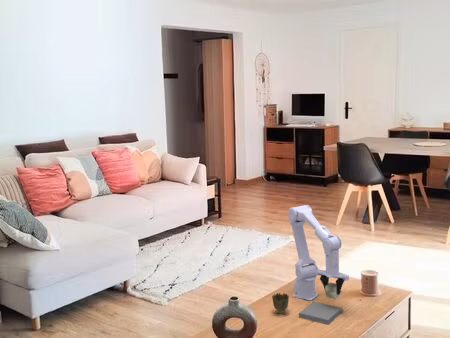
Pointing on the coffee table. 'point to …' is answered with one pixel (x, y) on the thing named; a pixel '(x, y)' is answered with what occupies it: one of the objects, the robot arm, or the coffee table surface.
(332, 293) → the sage block
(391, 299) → the coffee table surface
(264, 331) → the coffee table surface
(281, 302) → the cup
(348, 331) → the coffee table surface
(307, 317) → the charcoal base
